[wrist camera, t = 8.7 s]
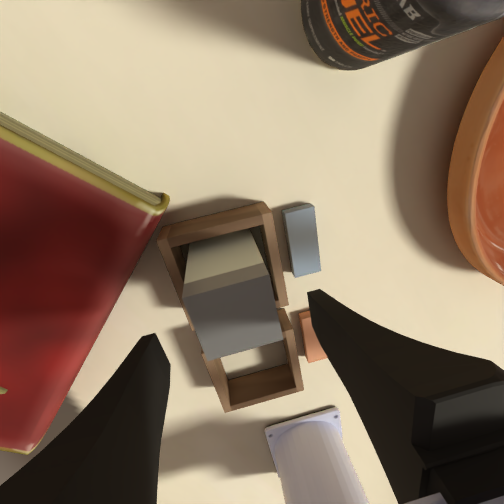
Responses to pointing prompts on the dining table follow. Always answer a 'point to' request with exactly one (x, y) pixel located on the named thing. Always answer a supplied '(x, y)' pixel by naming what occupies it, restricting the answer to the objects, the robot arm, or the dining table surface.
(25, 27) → the dining table surface
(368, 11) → the pill bottle
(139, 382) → the robot arm
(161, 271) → the dining table surface
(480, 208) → the saucer
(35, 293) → the hardcover book
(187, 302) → the plug
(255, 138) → the dining table surface
